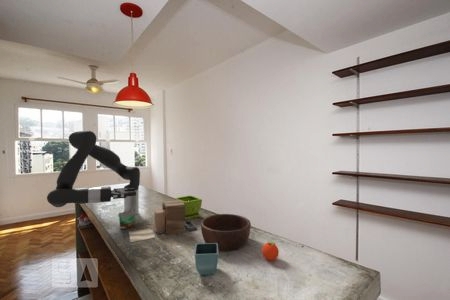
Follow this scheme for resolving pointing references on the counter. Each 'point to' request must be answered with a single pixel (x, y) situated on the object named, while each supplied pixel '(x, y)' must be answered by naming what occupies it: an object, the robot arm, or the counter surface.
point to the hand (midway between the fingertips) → (135, 191)
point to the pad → (141, 235)
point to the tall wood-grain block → (160, 221)
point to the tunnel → (174, 216)
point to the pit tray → (190, 225)
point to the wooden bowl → (226, 231)
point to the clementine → (270, 251)
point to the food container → (127, 219)
